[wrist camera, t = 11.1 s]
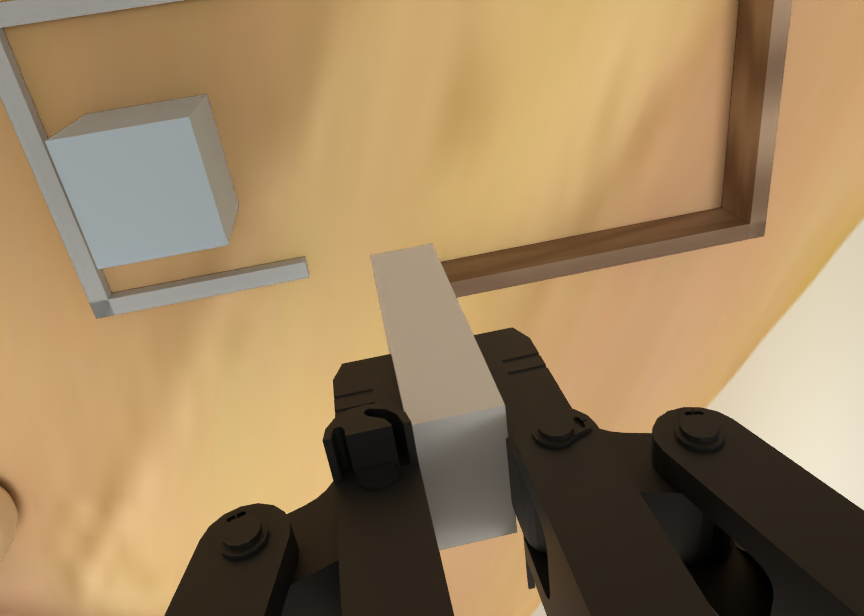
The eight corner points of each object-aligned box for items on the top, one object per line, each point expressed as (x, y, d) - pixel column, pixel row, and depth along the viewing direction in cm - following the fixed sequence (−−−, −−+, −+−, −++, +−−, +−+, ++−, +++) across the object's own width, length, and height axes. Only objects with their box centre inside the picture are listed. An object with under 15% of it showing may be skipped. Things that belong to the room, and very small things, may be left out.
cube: (86, 113, 33) (44, 141, 28) (207, 93, 33) (189, 116, 28) (128, 225, 36) (98, 269, 30) (239, 205, 36) (228, 245, 31)
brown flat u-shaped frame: (352, -100, 31) (356, -106, 28) (771, -159, 32) (812, -170, 30) (413, 282, 40) (421, 304, 37) (735, 219, 42) (764, 236, 39)
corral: (-30, 7, 30) (-39, 8, 29) (234, -33, 31) (232, -33, 30) (100, 312, 37) (96, 318, 37) (308, 271, 39) (309, 277, 38)
